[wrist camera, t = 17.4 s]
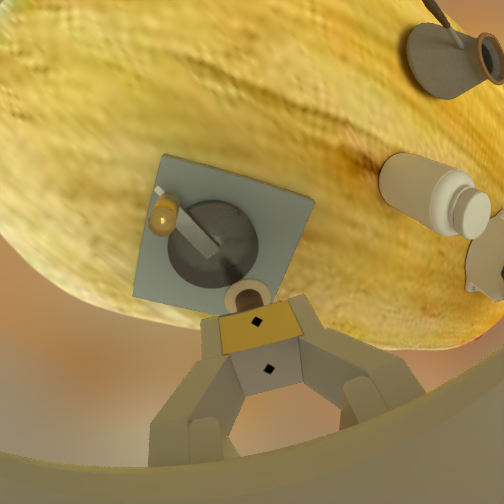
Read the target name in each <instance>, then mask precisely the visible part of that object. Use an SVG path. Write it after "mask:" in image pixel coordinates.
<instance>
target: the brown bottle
mask: <svg viewBox="0 0 504 504" xmlns="http://www.w3.org/2000/svg"><path fill="white" fill-rule="evenodd" d="M235 304H236V308H237V312H239V311H243V310H248V309H252V308H253V309H254V308H257V307H261V306H264V304H263V301H262V298H261V295H260V293H259V292H258V291H256V290H253V289H246V290H243V291H241V292H240V293H239V294H238V295H237V296H236V299H235Z"/></svg>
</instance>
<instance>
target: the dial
mask: <svg viewBox="0 0 504 504" xmlns="http://www.w3.org/2000/svg"><path fill="white" fill-rule="evenodd" d="M148 227H149V229H150V231H151V232H152V233H153V234H155V235H157V236H161V237H164V236H168V235H169V239H168V247H167V248H168V256H169V260H170V263H171V265H172V267H173V268H174V270H175V271H176V273H177V274H178V275H179V276H180V277H181V278H183V279H184V280H185V281H187V282H188V283H190V284H192V285H195V286H198V287H202V288H209V289H216V288H223V287H227V286H230V285H232V284H234V283H236V282H238V281H239V280H241V279H242V278H243V277H245V276H246V275H247V274H248V273H249V271H250V270H251V269H252V267H253V266H254V264H255V262H256V259H257V256H258V250H259V242H258V237H257V233H256V231H255V228H254V226H253V224H252V222H251V220H250V219H249V217H248V216H247V215H246V214H245V213H244V212H243V211H242V210H241V209H240V208H238V207H237V206H235V205H233V204H231V203H228V202H225V201H220V200H207V201H202V202H198V203H196V204H193V205H191V206H190V207H188V208H185V207H184V206H183V205H182V204H181V203H180V199H179V197H178V196H177V195H176V194H175V193H173V192H165V193H163V194H161V195H160V197H159V198H158V200H157V202H156V204H155V206H154V208H153V210H152V212H151V214H150V216H149V218H148Z"/></svg>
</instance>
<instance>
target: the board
mask: <svg viewBox="0 0 504 504" xmlns="http://www.w3.org/2000/svg"><path fill="white" fill-rule="evenodd" d="M165 192H173V193H175V194H176V195H177V196H178V197H179V199H180V203H181V204H182V205H183V206H184V207H185V208H188V207H190V206H191V205H193V204H196V203H198V202H202V201H207V200H220V201H225V202H228V203H231V204H233V205H235V206H237V207H238V208H240V209H241V210H242V211H243V212H244V213H245V214H246V215H247V216H248V217H249V219H250V220H251V222H252V224H253V226H254V228H255V231H256V233H257V237H258V242H259V250H258V256H257V259H256V262H255V264H254V266H253V267H252V269H251V270H250V271H249V273H248V274H247V275H246V276H245V277H243V278H242V279H241V280H239V281H238V282H236V283H234V284H232V285H230V286H227V287H223V288H216V289H209V288H202V287H198V286H195V285H192V284H190V283H188V282H187V281H185V280H184V279H183V278H181V277H180V276H179V275H178V274H177V273H176V271H175V270H174V268H173V267H172V265H171V263H170V260H169V256H168V248H167V247H168V239H169V235H168V236H164V237H161V236H157V235H155V234H153V233H152V232H151V231H150V229H149V227H148V218H149V216H150V214H151V212H152V210H153V208H154V206H155V204H156V202H157V200H158V198H159V197H160V195H161V194H163V193H165ZM314 204H315V201H314V200H312V199H311V198H310V197H307V196H304V195H301V194H299V193H296V192H293V191H290V190H287V189H284V188H281V187H278V186H275V185H271V184H268V183H265V182H262V181H259V180H256V179H253V178H249V177H246V176H243V175H239V174H236V173H233V172H229V171H226V170H223V169H219V168H216V167H212V166H209V165H205V164H201V163H198V162H194V161H190V160H187V159H183V158H179V157H175V156H171V155H168V154H164V155H163V156H162V159H161V163H160V166H159V170H158V174H157V177H156V181H155V185H154V189H153V193H152V197H151V202H150V206H149V210H148V215H147V219H146V224H145V228H144V233H143V238H142V243H141V248H140V253H139V259H138V264H137V270H136V276H135V282H134V289H133V295H132V296H133V297H137V298H141V299H145V300H149V301H154V302H158V303H162V304H167V305H171V306H176V307H180V308H185V309H190V310H195V311H199V312H204V313H209V314H215V315H225V314H230V313H234V312H237V308H236V304H235V299H236V296H237V295H238V294H239V293H240V292H241V291H243V290H246V289H253V290H256V291H258V292H259V293H260V295H261V298H262V301H263V304H264V306H265V305H269V304H272V302H273V300H274V298H275V295H276V293H277V291H278V289H279V286H280V284H281V282H282V280H283V277H284V275H285V273H286V270H287V268H288V266H289V263H290V261H291V259H292V256H293V254H294V252H295V249H296V247H297V245H298V242H299V240H300V238H301V235H302V233H303V230H304V228H305V226H306V223H307V221H308V218H309V216H310V213H311V211H312V209H313V206H314Z"/></svg>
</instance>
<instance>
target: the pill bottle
mask: <svg viewBox="0 0 504 504" xmlns="http://www.w3.org/2000/svg"><path fill="white" fill-rule="evenodd" d="M379 188H380V192H381V194H382V197H383V198H384V200H385V201H386V202H387V203H388V204H389V205H391V206H392V207H394V208H396V209H397V210H399V211H401V212H403V213H404V214H406V215H408V216H410V217H411V218H413V219H415V220H416V221H418V222H420V223H421V224H423V225H425V226H426V227H428V228H430V229H431V230H433V231H434V232H436V233H438V234H440V235H442V236H455V235H457V234H460V235H462V236H463V237H465V238H466V239H470V240H472V239H475V238H477V237H479V236H480V235H481V234H482V232H483V231H484V230H485V228H486V226H487V224H488V221H489V218H490V213H491V204H490V200H489V197H488V196H487V194H486V193H484V192H482V191H480V190H478V189H476V188H475V185H474V182H473V180H472V179H471V177H470V176H469V175H468V174H467V173H465V172H464V171H463V170H460V169H458V168H455V167H452V166H449V165H446V164H443V163H440V162H436V161H433V160H430V159H427V158H423V157H420V156H416V155H413V154H409V153H398V154H395V155H393V156H392V157H390V158H389V159H388V160H387V161H386V162H385V164H384V165H383V167H382V170H381V172H380V177H379Z"/></svg>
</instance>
